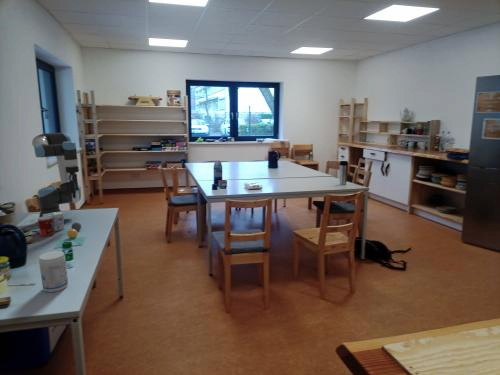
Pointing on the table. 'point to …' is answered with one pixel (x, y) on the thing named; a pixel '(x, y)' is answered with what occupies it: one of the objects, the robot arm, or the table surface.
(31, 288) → the table surface
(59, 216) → the light bulb box
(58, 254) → the supplement tub
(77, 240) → the teal mark
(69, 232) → the orange ball
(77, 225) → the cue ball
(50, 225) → the canned food
